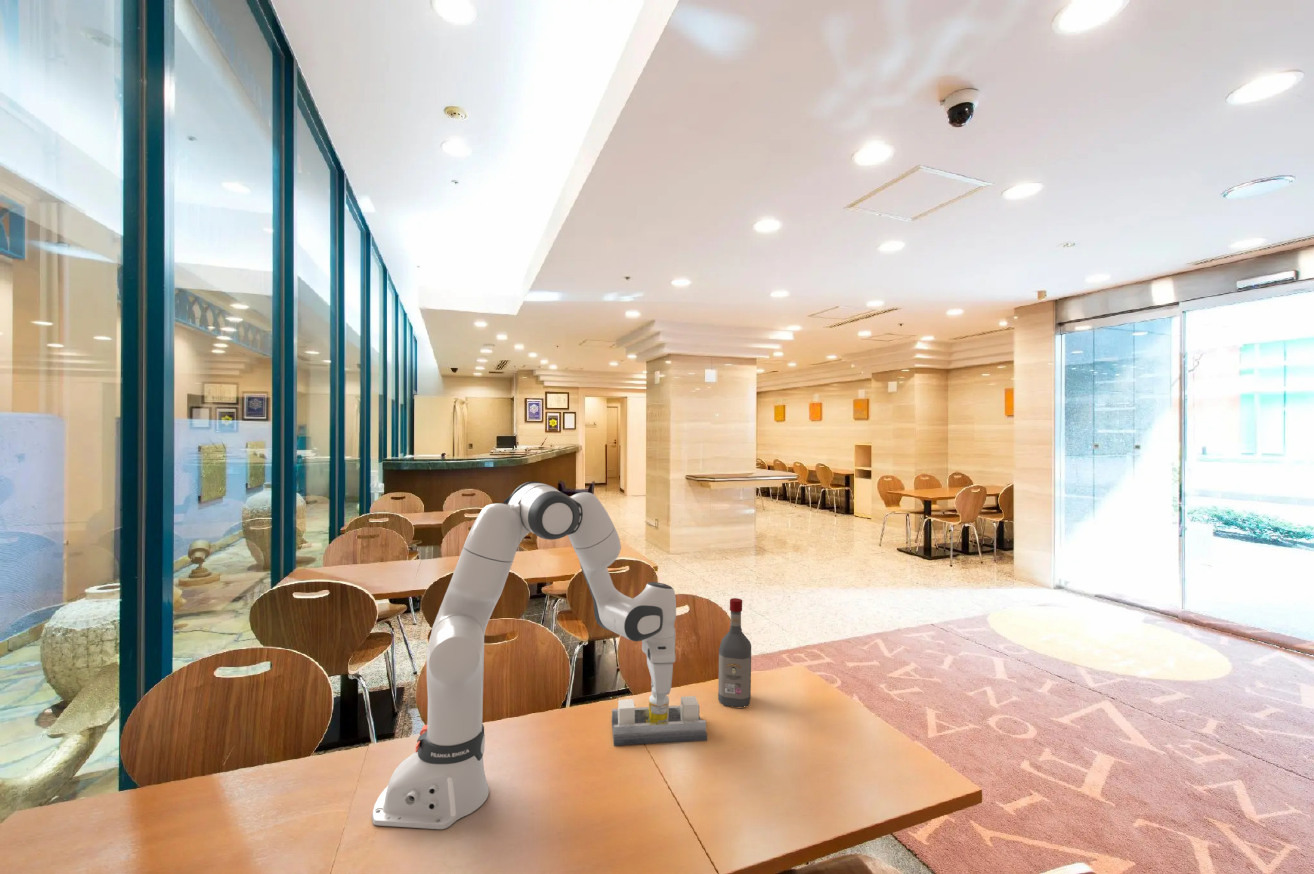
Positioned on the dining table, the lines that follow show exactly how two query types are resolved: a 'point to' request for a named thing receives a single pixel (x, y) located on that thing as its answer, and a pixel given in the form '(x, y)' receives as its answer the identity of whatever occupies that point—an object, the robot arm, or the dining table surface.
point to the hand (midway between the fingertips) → (657, 695)
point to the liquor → (735, 662)
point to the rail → (657, 729)
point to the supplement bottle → (658, 709)
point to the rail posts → (687, 713)
